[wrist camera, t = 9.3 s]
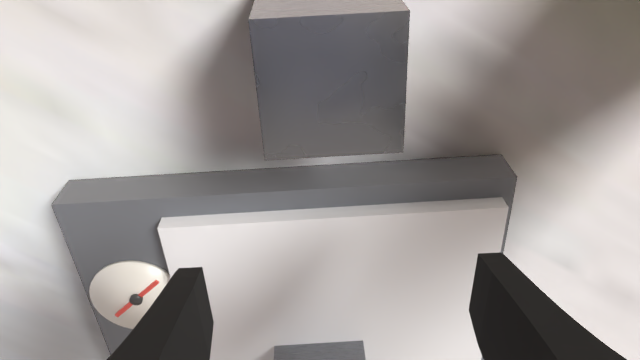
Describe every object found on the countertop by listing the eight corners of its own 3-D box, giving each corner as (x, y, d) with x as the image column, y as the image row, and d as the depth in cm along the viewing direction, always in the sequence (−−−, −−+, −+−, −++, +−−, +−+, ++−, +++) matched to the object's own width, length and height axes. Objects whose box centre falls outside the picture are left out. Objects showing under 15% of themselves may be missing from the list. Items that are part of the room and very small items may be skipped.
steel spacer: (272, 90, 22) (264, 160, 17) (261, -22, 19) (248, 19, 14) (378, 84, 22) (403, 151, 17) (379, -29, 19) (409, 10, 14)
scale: (147, 396, 32) (135, 439, 30) (69, 180, 23) (43, 215, 21) (465, 377, 32) (478, 418, 30) (501, 154, 24) (524, 187, 21)
